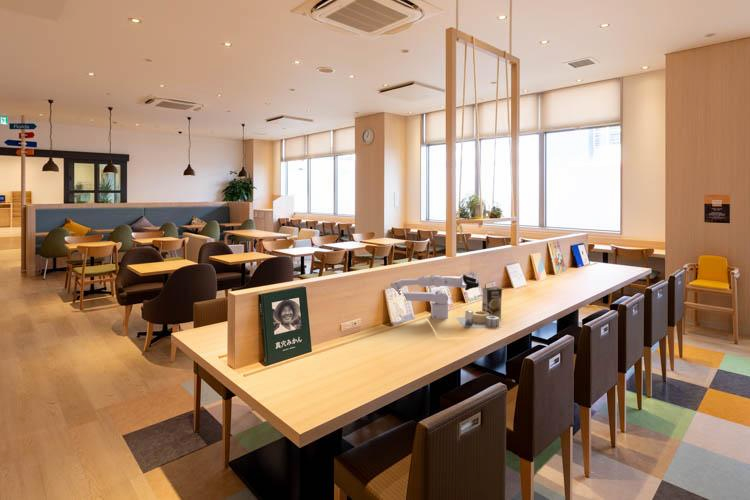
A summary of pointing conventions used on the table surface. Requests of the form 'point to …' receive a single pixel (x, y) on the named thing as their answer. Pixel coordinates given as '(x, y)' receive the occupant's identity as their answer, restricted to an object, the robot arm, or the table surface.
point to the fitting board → (475, 324)
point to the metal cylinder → (469, 317)
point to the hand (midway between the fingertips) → (477, 282)
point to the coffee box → (492, 301)
